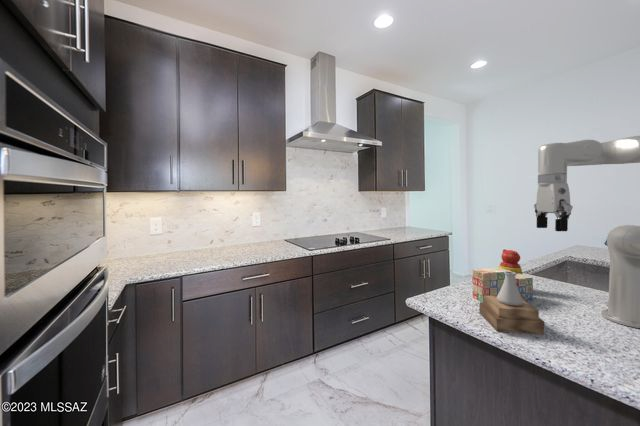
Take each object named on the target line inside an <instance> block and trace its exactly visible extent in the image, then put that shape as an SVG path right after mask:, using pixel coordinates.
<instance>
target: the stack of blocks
mask: <svg viewBox="0 0 640 426" xmlns="http://www.w3.org/2000/svg"><path fill="white" fill-rule="evenodd" d="M506 271H509V270H505V269H502V268H498V267H488V268H474V269H472V299H473V298H474V299H475V300H477V301H478V302H479V303H480V302H481V303H484V295H486V296H497V295H498V294H499V292H500V290H501V288H502V285H503V283H504V280H505V274H504V272H506ZM510 272H512V271H510ZM515 280H516V285H517V288H518V290H519V293H520V295H521V298H522V299H523V300H524V301H533V295H534V293H533V292H534V286H533V284H534V283H533V282H534V278H533V277H532V276H528V275H525V274H523V275H522V274H516V275H515Z"/></svg>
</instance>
